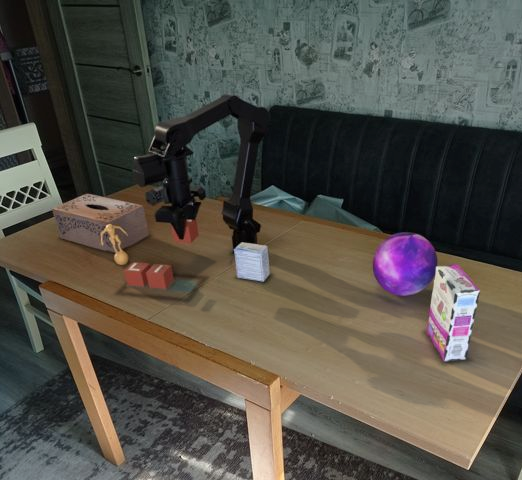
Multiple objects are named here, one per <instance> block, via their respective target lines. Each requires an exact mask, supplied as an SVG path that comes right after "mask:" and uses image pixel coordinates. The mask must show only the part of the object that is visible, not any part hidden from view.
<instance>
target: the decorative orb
mask: <svg viewBox="0 0 522 480" xmlns="http://www.w3.org/2000/svg"><path fill="white" fill-rule="evenodd" d="M437 256H438V255H437V252H436V249H435V247H434V245H432V243H431V242H430V241H429V240H428V239H427V238H425V237H424V236H423V235H421V234H418V233H415V232H410V231H405V232H404V231H403V232H396V233H394V234H392V235H390V236H388V237H387V238H386V239H384V240H383V241H382V242H381V243H380V244H379V245H378V247H377V248H376V250H375V252H374V254H373V258H372V272H373V276H374V278H375V280H376V282H377V283H378V285H379V286H380V287H381V288H382V289H383V290H385V291H386V292H388V293H390V294H392V295H395V296H401V297H402V296H404V297H405V296H406V297H407V296H412V295H415V294H418V293H420V292H422V291H424V290H425V289H426V288H427V287H428V286H429V285H430V284H431V283H432V282H433V281H434V278H435V271H436V267H437V266H438V265H439V264H438V263H439V262H438V257H437Z"/></svg>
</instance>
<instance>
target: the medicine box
mask: <svg viewBox="0 0 522 480" xmlns="http://www.w3.org/2000/svg"><path fill="white" fill-rule="evenodd" d="M258 244H259V243H258ZM258 244H251V243H243V242H242V243H240V244H239V245H238V246H237V247H236V248H235V249H233V251H234V252H235V254H234V259H235V260H234V261H235V268H236V277H237V278H238V279H245V280H251V281H257V282H258V281H259V282H263V283H264V282H265V280H266V279H267V278H268V277H269V276H270V275H271V271H270V270H271V269H270V261H269V260H270V259H269V247H268V245H264V244H260V245H258Z"/></svg>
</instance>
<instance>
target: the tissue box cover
mask: <svg viewBox="0 0 522 480" xmlns="http://www.w3.org/2000/svg"><path fill="white" fill-rule="evenodd" d="M144 209H145V208H144V205H143V204H138V203H133V202H128V201H124V200H119V199H114V198H111V197H105V196H100V195H96V194H91V193H85V194H82V195H80V196H77V197H75V198H73V199H71V200H69V201H66V202H63V203H62V204H59V205H57V206H55V207H53V208H51V211H52V215H53V218H54V220H55V224H56V227H57V230H58V233H59V237H60V239H63V240H66V241H69V242H73V243H76V244H80V245H83V246H87V247H90V248H93V249H97V250H101V251H104V252H111V253H115V254H116V251H115V249H114V248H113V244H112V243H111V241H110V240H109V237H111V236H110V235H109V233H108V232H107V231H106V232H105V233H104V234H103V235H102V236H103V237H102V238H103V241H102V242H103V245H102V244H101V233H102V232H103V231H104V229H105V228H106V226H107V225H108V224H112V225H113V226H119V227H121V228H122V229H123V230H124V231H125V232H126V233H127V235H128V236H127V235H126V233H124V232H123V231H122V230H121V229H120V228H115V236H116V235H118V238H119V239H120V241H121V245H120V247H121V249H122V250H123V249H125V248H127V247H131V246H133V245H136V243H138V242H141V241H142V240H143V239H145V238H148V237H150V234H149V229H148V222H147V219H146V214H145V210H144ZM114 240H115V246H116V247H115V248H116V250H117V251H118V252H119V251H120V249H119V247H118V244H119V242H117V241H116V239H114Z"/></svg>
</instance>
